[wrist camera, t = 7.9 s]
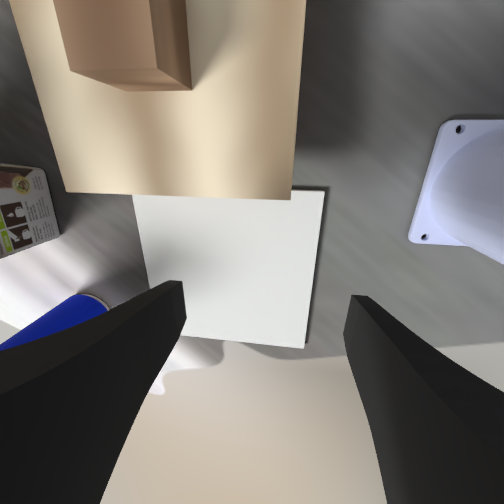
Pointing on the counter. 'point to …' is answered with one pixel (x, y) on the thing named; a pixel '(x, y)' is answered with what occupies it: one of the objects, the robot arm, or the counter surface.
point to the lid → (168, 93)
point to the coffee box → (24, 209)
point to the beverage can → (59, 319)
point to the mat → (235, 262)
